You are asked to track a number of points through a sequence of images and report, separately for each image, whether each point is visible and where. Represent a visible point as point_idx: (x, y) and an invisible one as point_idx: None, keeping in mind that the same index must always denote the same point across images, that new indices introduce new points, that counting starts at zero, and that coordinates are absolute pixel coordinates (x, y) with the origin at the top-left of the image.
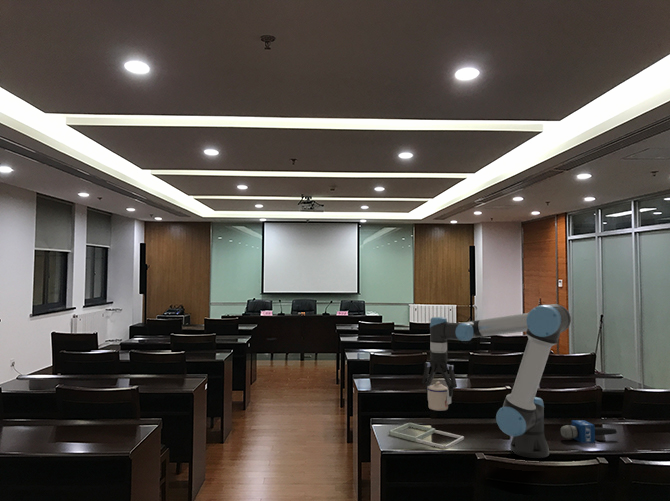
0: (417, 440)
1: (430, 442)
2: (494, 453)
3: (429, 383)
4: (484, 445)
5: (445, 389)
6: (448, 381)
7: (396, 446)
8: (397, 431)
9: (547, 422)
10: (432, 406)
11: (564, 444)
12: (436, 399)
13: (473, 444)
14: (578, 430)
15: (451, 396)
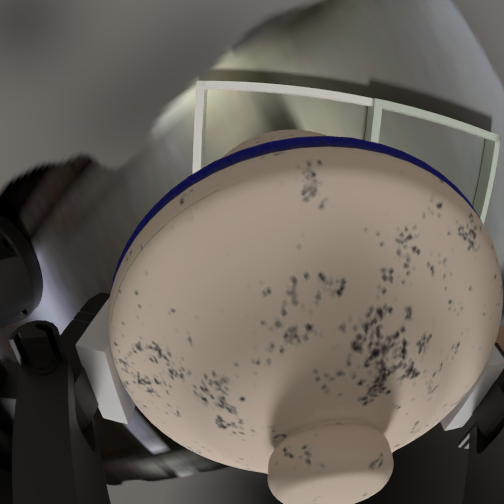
0: (361, 96)
1: (287, 87)
2: (44, 181)
3: (488, 429)
4: (101, 241)
5: (108, 324)
6: (20, 483)
7: (403, 3)
8: (478, 188)
9: (119, 465)
10: (320, 134)
11: (9, 359)
12: (268, 140)
13: (135, 226)
14: None
15: (102, 302)
